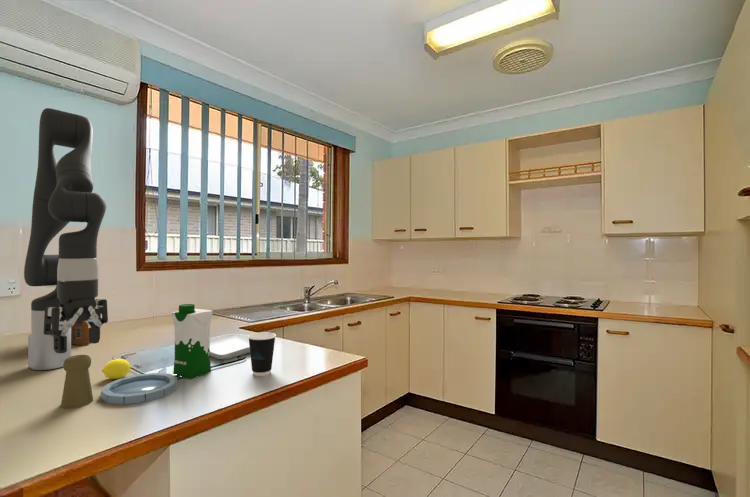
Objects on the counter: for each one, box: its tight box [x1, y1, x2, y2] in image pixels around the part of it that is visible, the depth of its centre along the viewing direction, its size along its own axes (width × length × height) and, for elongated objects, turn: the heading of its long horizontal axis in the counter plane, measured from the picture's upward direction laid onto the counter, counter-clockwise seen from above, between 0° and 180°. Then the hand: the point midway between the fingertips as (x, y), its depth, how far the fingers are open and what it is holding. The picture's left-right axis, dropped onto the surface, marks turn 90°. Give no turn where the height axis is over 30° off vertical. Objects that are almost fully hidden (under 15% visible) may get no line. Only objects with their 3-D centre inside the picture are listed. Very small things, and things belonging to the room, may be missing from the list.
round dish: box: [100, 372, 178, 405], centre depth 98 cm, size 16×16×2 cm
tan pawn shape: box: [60, 354, 94, 409], centre depth 90 cm, size 6×6×11 cm
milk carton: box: [171, 303, 214, 380], centre depth 111 cm, size 9×9×20 cm
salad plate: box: [210, 333, 250, 360], centre depth 135 cm, size 21×21×3 cm
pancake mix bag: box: [71, 321, 91, 346], centre depth 143 cm, size 7×19×28 cm, turn 56°
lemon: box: [101, 358, 132, 380], centre depth 106 cm, size 7×5×5 cm
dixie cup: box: [247, 331, 277, 377], centre depth 112 cm, size 8×8×11 cm
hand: (78, 347), depth 90 cm, fingers open, 8 cm apart
